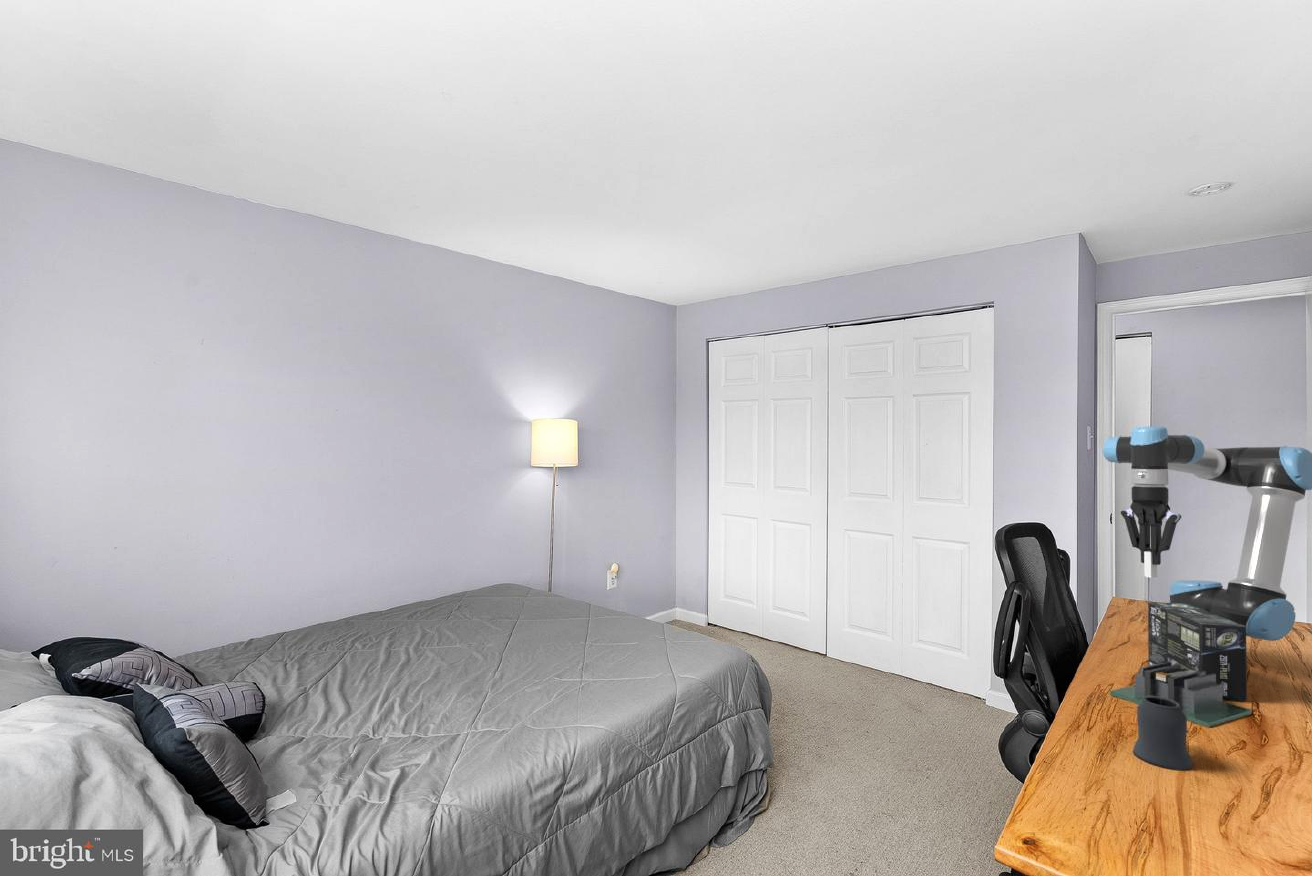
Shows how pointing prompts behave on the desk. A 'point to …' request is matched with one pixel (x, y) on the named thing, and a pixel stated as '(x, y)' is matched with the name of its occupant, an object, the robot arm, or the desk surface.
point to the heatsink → (1184, 694)
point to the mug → (1162, 734)
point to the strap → (1172, 674)
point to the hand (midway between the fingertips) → (1150, 576)
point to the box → (1199, 644)
